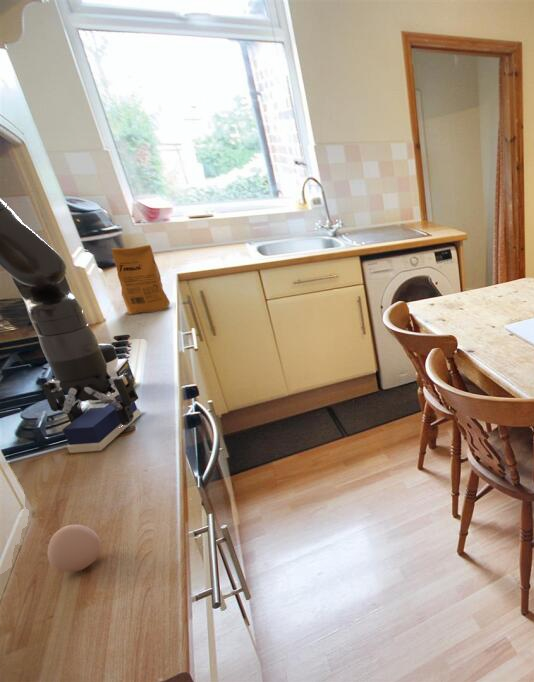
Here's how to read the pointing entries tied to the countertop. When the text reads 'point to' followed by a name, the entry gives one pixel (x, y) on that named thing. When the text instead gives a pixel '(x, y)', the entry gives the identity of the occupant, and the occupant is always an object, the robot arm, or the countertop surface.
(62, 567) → the egg
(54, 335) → the robot arm
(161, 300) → the coffee package
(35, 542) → the countertop surface
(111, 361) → the medicine bottle
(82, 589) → the countertop surface
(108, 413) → the navy and white sponge
